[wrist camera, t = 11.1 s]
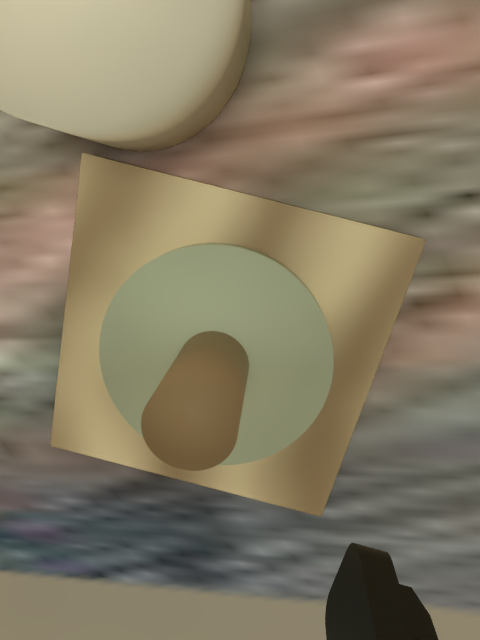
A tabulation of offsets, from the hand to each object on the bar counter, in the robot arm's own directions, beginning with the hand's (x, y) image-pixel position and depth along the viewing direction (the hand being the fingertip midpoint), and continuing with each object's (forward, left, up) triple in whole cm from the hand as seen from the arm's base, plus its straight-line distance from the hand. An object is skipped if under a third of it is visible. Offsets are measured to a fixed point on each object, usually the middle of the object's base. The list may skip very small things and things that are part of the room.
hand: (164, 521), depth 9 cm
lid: (0, 0, -10) cm, 10 cm away
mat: (0, 0, -11) cm, 11 cm away
